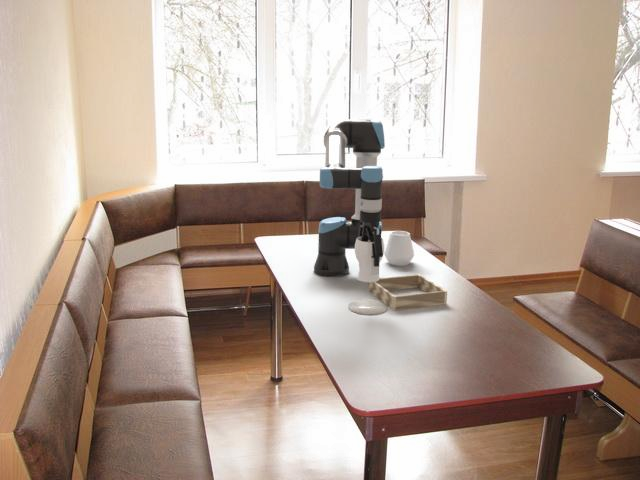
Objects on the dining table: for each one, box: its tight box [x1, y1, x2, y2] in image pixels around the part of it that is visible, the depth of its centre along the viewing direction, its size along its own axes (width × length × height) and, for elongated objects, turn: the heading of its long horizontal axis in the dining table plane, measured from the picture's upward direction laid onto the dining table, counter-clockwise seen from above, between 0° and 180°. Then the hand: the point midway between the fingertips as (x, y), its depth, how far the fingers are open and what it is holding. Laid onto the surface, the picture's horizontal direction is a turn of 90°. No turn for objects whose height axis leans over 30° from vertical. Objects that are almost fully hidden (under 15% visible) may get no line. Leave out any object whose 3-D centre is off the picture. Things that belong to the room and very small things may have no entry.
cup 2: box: [383, 230, 415, 267], centre depth 300 cm, size 13×13×14 cm
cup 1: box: [354, 237, 385, 283], centre depth 239 cm, size 11×11×15 cm
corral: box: [368, 274, 448, 311], centre depth 255 cm, size 22×22×5 cm
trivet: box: [348, 299, 388, 316], centre depth 244 cm, size 14×14×1 cm
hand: (368, 270), depth 240 cm, fingers closed on cup 1, 11 cm apart
